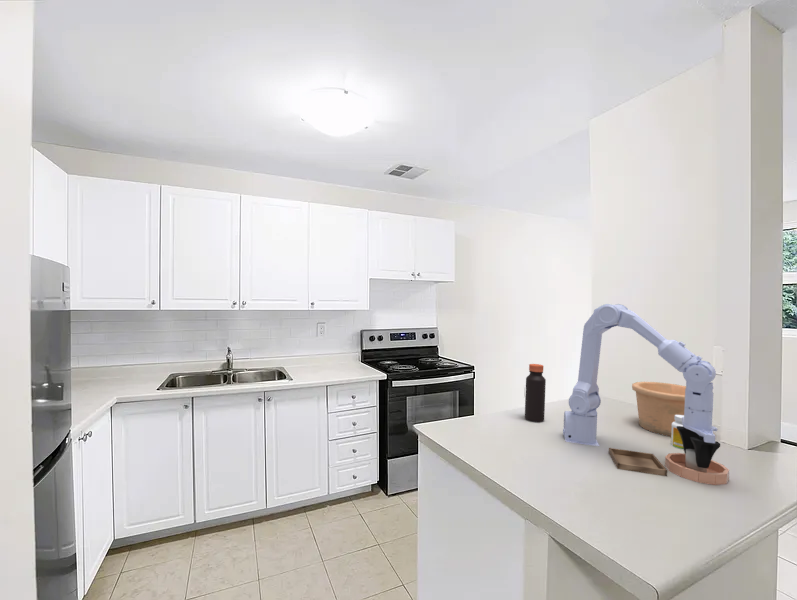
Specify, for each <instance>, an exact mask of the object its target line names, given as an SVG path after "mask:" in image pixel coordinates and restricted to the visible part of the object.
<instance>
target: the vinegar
mask: <svg viewBox="0 0 797 600" xmlns="http://www.w3.org/2000/svg"><path fill="white" fill-rule="evenodd" d="M528 366H529V367H528V372H529V374H528V375H527V376H526V377H525V395H524V396H525V400H524V401H525V403H524V419H525V420H526V421H528V422H533V423H542V422H544V421H545V412H546V411H545V407H546V406H545V404H546V381H547V380H546V378H545V376H543V374H544V365H543V364H540V363H530V364H528Z"/></svg>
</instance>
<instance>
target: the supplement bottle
mask: <svg viewBox="0 0 797 600" xmlns="http://www.w3.org/2000/svg"><path fill="white" fill-rule="evenodd" d="M682 417H684V415H675V418H674V419H675V422H673V423H672V425H671V436H670V446H672V447H674V448H676V449H680V450H683V451H684V448H683V443H682V439H681V436H680V433H679V431H678V429H677V426H682V427H683V424H682Z"/></svg>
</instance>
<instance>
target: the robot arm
mask: <svg viewBox="0 0 797 600" xmlns="http://www.w3.org/2000/svg"><path fill="white" fill-rule="evenodd" d="M615 327H621V328H626V329H630V330H632V331H634V332H635V333H637V334H638V335H639V336H640V337H642V338H644V339H645V340H646V341H648V342H649V343H650V344H652V345H653V346H654V347H656V348H657V353H658V356H660V357H661V358H662V359H663V360H664V361H666V362H667V363H668V364H669V365H670V366H672V367H673V368H674V369H675V370H677V371H678V373H679V372H680V373H682V376H683V378H684V380H685V386H686V389H685V406H684V417H682V424H683V427H682V426H677V429H678V431H679V433H680V436H681V439H682V443H683V448H684V450H683V451H684V454H685V455H686V449H695V456H696V463H697V466H698V467H701V468H708V467H709V465H710V462H711V460H713V457H714V455H715V454H716V452H717V450H719V448H720V447H721V443H720V442H719V441H718V440H717V441H716V435H715V433H714V432H718V427H716V426H714V425H713V410H714V391H713V390H714V382H713V381H714V379H715V378H716V375H717V372H716V368H715V366H713V365H712V364H711V363H710V362H709V361H706V360H703V357H702V356H700V355H696V354H695V353H693V351H691V350H690V349H688V348H687V347H686V343H684V342H683V341H678V340H676V339H667V338H666V337H665V336H664V335H662V334H661V333H660V332H659V331H658V330H657V329H655V328H654V327H653V326H652V325H650V324H649V323H648V322H647V321H646V320H645V319H643V318H642V317H641V316H640V315H639V314H637V313H636V312H635V311H633V310H631V309H629V308H628V307H627V306H625V305H624V304H619V303H617V304H612V303H611V304H610V303H605V304H603V305H602V304H601V305H600V306H598V307H597V308H595V309H594V310H593V313H592V314H591V315H590V317H589V318H588V320H586V322H585V323H584V325H583V329H582V330H583V332H582V340H581V350H580V356H579V357H580V359H579V369H578V377H577V381H576V384H575V385H574V386H573V389H572V393H571V395H570V397H569V398H568V406H569V408H570V410H564V413H563V414H564V415H563V428H562V435H563V438H564V441H565V442H567V443H574V444H581V445H587V446H595V447H600V444H599V441H598V440H597V434H598V433H597V432H598V431H597V430H598V429H597V428H598V412H597V409H599V407H600V405H601V403H602V400H601V396H600V393H599V392H600V388H599V386H598V374H599V364H600V358H601V357H600V356H601V349H602V348H601V345H602V338H603V334H604V333H605V332H607V331H609V330H610V329H611V328H615Z"/></svg>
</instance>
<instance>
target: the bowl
mask: <svg viewBox="0 0 797 600" xmlns="http://www.w3.org/2000/svg"><path fill="white" fill-rule="evenodd" d="M664 458H665V459H664V460H665V461H664V467H666V468H665V469H666V470H667V471H668V472H670V473H672V474H675V475H677V476H679V477H681V478H683V479H686V480H689V481H692V482H697V483H699V484H700V483H701V484H708V485H713V486H718V485H719V486H720V485H727V484H728V482H729V480H730V469H729V468H728V467H726V466H725V465H724V464H722V463H720V462H718V461H715V460H713V459H711V462H710V465H709V467H708V468H707V472H701V471H696V470H693V469H689V468H686V467H685V459H686V455H685V452H684V453H683V452H672V453H668V454H666V455H665V457H664Z"/></svg>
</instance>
